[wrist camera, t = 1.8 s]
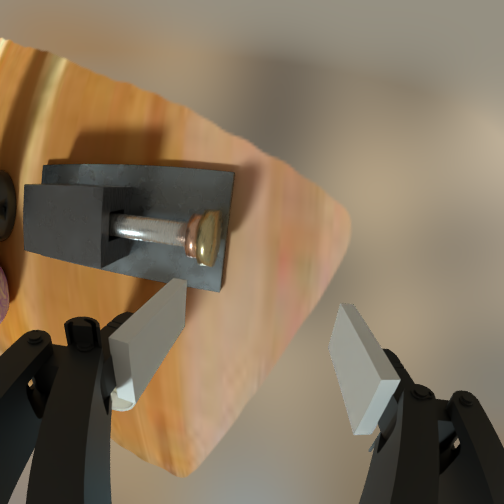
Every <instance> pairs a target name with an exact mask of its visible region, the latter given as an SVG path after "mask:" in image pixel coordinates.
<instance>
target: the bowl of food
mask: <svg viewBox="0 0 504 504" xmlns="http://www.w3.org/2000/svg"><path fill="white" fill-rule="evenodd" d="M8 308H9V290H8V283H7V279H6V276H5V274H4V272H3V270H2V268H1V266H0V323H1V322H2V321H3V319H4V318H5V316H6V314H7V311H8Z"/></svg>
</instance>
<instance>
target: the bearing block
mask: <svg viewBox="0 0 504 504" xmlns="http://www.w3.org/2000/svg"><path fill="white" fill-rule="evenodd" d="M234 176H235V173H234V172H225V171H216V170H205V169H194V168H181V167H166V166H148V165H120V164H63V165H43V171H42V183H41V184H26V185H24V207H23V231H24V250H26V251H29V252H33V253H37V254H41V255H43V256H46V257H50V258H54V259H58V260H63V261H67V262H71V263H75V264H79V265H84V266H88V267H92V268H97V269H101V270H106V271H110V272H115V273H120V274H124V275H129V276H134V277H139V278H144V279H149V280H154V281H159V282H164V283H168V282H169V281H170V280H172V279H173V278H177V279H183V280H187V287H192V288H197V289H203V290H209V291H215V292H220V291H221V285H222V276H223V267H224V258H225V249H226V240H227V231H228V223H229V215H230V207H231V199H232V191H233V183H234ZM206 209H212V210H220V211H221V212H222V235H221V242H220V248H219V252H218V256H217V260H216V262H215V264H214V266H213V267H209V266H202V265H198V263H197V259H196V258H190V257H187V256H186V253H185V247H180V246H174V245H167V244H161V243H154V242H147V241H141V240H134V239H128V238H121V237H115V236H109V213H119V214H127V215H136V216H144V217H153V218H161V219H169V220H177V221H185V222H189V219H190V217H191V215H192V214H194V213H196V214H203V213H204V211H205V210H206Z"/></svg>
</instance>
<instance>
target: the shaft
mask: <svg viewBox="0 0 504 504" xmlns="http://www.w3.org/2000/svg"><path fill="white" fill-rule="evenodd" d="M221 235H222V212H221V211H220V210H212V209H206V210H205V211H204V213H203V214H196V213H194V214H192V215H191V217H190V219H189V222H185V221H177V220H169V219H161V218H153V217H144V216H136V215H127V214H119V213H109V236H115V237H121V238H128V239H134V240H141V241H147V242H154V243H161V244H167V245H174V246H180V247H185V253H186V256H187V257H190V258H196V259H197V263H198V265H202V266H209V267H213V266H214V264H215V262H216V260H217V256H218V252H219V248H220V242H221Z"/></svg>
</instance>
